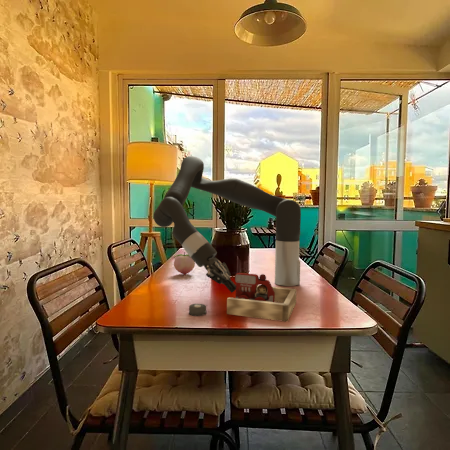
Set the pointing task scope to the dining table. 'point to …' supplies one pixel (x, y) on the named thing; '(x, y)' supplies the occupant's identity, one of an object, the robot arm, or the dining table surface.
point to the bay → (265, 305)
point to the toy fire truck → (253, 287)
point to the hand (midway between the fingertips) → (234, 290)
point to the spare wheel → (197, 309)
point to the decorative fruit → (184, 263)
